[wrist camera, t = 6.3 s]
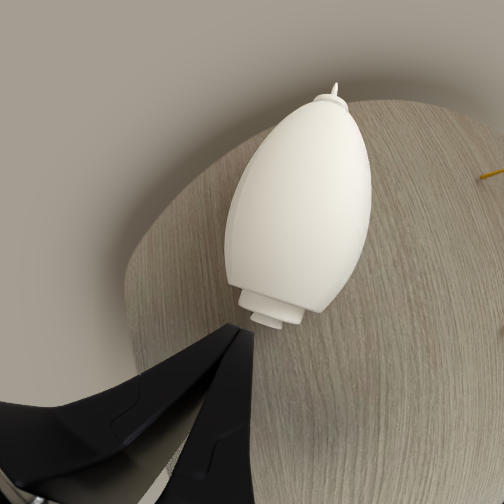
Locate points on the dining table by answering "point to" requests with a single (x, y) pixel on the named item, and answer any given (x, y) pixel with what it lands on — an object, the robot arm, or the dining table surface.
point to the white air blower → (300, 214)
